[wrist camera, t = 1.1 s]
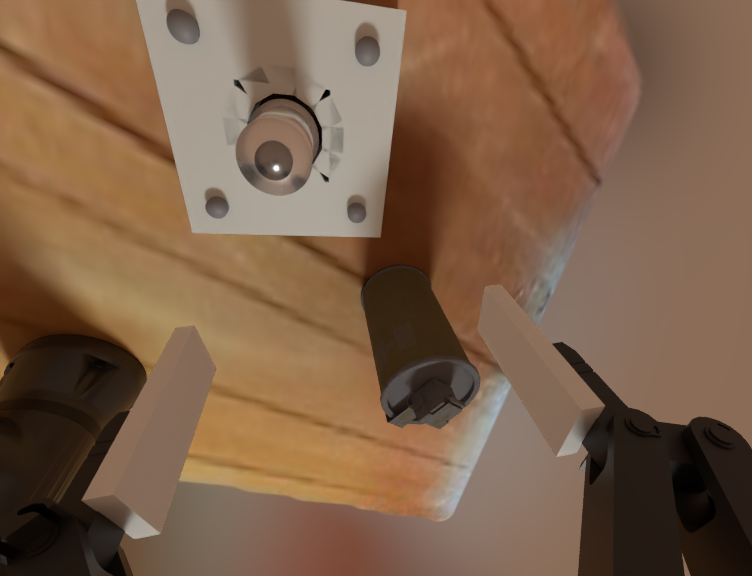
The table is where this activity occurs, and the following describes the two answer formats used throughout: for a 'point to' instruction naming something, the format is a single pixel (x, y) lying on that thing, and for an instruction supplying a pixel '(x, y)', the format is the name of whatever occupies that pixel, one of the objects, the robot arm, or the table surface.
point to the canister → (415, 350)
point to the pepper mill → (278, 147)
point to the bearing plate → (280, 76)
